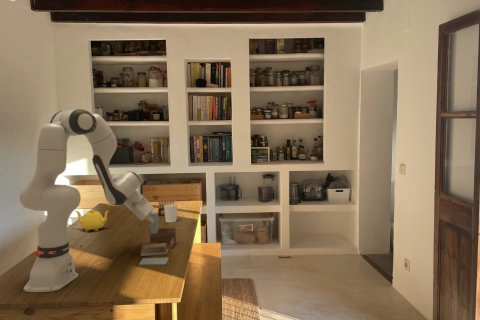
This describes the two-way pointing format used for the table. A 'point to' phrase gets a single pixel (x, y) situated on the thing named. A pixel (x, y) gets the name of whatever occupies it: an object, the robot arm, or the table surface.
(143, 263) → the felt mat
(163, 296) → the table surface
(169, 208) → the white cup
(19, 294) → the table surface
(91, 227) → the teapot
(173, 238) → the walnut rack
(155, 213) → the batten
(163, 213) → the ammunition clip
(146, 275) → the table surface
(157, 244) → the offcut stack
